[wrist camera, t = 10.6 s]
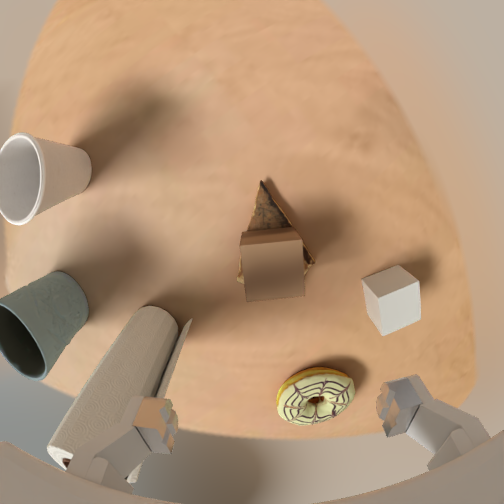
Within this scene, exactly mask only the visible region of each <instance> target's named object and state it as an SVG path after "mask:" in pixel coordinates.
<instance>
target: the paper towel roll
mask: <svg viewBox="0 0 504 504" xmlns="http://www.w3.org/2000/svg"><path fill="white" fill-rule="evenodd" d="M192 319H193V318H192ZM192 319H190V320H189V321H188V322H187V323H186V324H185V326H184V328H183V330H182V333H181V335H180V336H179V337H178V326H177V324H176V321H175V319H174V318H173V317H172V316H171V315H170V314H169V313H168V312H167V311H165V310H163V309H161V308H159V307H154V306H146V307H142V308H140V309H139V310H138V311H137V312H135V313H134V315H133V316H132V318H131V319H130V320H129V322H128V323H127V324H126V326H125V327H124V329H123V330H122V331H121V333H120V334H119V336H118V337H117V338H116V340H115V341H114V343H113V344H112V345H111V347H110V348H109V350H108V351H107V353H106V354H105V355H104V357H103V358H102V360H101V361H100V363H99V364H98V366H97V367H96V369H95V370H94V372H93V373H92V375H91V376H90V378H89V379H88V381H87V382H86V384H85V385H84V387H83V388H82V390H81V391H80V393H79V394H78V396H77V397H76V399H75V401H74V402H73V404H72V405H71V407H70V409H69V410H68V412H67V413H66V415H65V417H64V418H63V420H62V422H61V423H60V425H59V427H58V428H57V430H56V432H55V433H54V435H53V437H52V438H51V440H50V442H49V444H48V445H47V450H48V453H49V454H50V455H51V457H52V458H53V459H54V460H55V461H56V462H57V463H58V464H59V465H60V466H62V467H63V468H64V469H67V467H68V465H69V463H70V461H71V459H72V457H73V455H74V453H75V451H76V449H77V448H79V447H80V446H82V445H84V444H85V443H87V442H88V441H90V440H91V439H93V438H95V437H96V436H98V435H99V434H101V433H102V432H104V431H106V430H107V429H109V428H110V427H112V426H113V425H115V424H116V423H118V424H120V422H121V420H122V417H123V415H124V413H125V411H126V408H127V406H128V404H129V402H130V400H131V398H132V397H133V396H134V395H138V396H147V397H154V398H163V399H164V397H165V394H166V391H167V388H168V385H169V382H170V379H171V377H172V374H173V371H174V368H175V365H176V363H177V360H178V357H179V354H180V352H181V349H182V346H183V343H184V341H185V338H186V335H187V333H188V330H189V327H190V325H191V322H192ZM142 463H143V462H142ZM142 463H141V464H139V465H138V466H137V467H136V468H135V469H134V470H133V471H132V472H131V473H130V474H129V475H128V476H126V477H125V478H124V479H125V480H126V481H127V482H128V483H131V482H137V479H138V475H139V473H140V469H141V466H142Z"/></svg>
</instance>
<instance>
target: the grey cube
mask: <svg viewBox="0 0 504 504" xmlns="http://www.w3.org/2000/svg"><path fill="white" fill-rule="evenodd" d="M361 280H362V285H363V291H364V296H365V302H366V308H367V314H368V316H369V317H370V319H371V320H372V321H373V323H374V324H375V326H376V327H377V329H378V330H379V332H380V333H381V335H382V336H385V335H387V334H389V333H392V332H394V331H396V330H399V329H401V328H403V327H405V326H408V325H410V324H412V323H414V322H416V321H418V320H420V319H421V305H420V286H419V280H417V279H416V278H415V277H414V276H412V275H411V274H410V273H409V272H407V271H406V270H405V269H403V268H402V267H401V266H400V265H396V266H394V267H391V268H389V269H386V270H384V271H381V272H379V273H376V274H373V275H371V276H368V277H365V278H363V279H361Z"/></svg>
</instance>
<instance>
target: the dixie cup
mask: <svg viewBox="0 0 504 504" xmlns="http://www.w3.org/2000/svg"><path fill="white" fill-rule="evenodd" d="M91 174H92V165H91V160H90V158H89V156H88V154H87V153H86V152H85V151H84V150H83V149H80V148H77V147H73V146H69V145H65V144H61V143H57V142H53V141H49V140H45V139H40V138H36V137H33V136H32V135H30V134H28V133H24V132H21V133H17V134H15V135H13V136H11V137H10V138H9V139H8V140H7V141H6V142H5V144H4V145H3V147H2V148H1V150H0V212H1V213H2V215H3V216H4V218H5V219H6V220H7V221H9V222H10V223H12V224H15V225H23V224H26V223H28V222H29V221H30V220H32V219H33V217H34V216H36V215H38V214H40V213H41V212H43V211H45V210H47V209H49V208H51V207H53V206H55V205H57V204H59V203H61V202H63V201H65V200H67V199H69V198H71V197H74V196H76V195H78V194H80V193H81V192H83V191H84V190H85V189H86V187H87V186H88V184H89V182H90V179H91Z"/></svg>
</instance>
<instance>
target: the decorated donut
mask: <svg viewBox="0 0 504 504" xmlns="http://www.w3.org/2000/svg"><path fill="white" fill-rule="evenodd" d="M354 395H355V389H354V384H353V380H352V379H351V378H349V377H348V376H347V374H345V373H342V372H340V371H337V370H335V369H331V368H325V367H314V368H310V369H306V370H303V371H301V372H298V373H297V374H295V375H293V376H291V377H290V378H289V379H287V380H286V381H285V382H284V383H283V385H282V386H281V387H280V389H279V391H278V395H277V400H276V403H277V410H278V413H279V415H280V417H281V418H283V419H284V420H285V421H287V422H290V423H293V424H297V425H313V424H317V423H320V422H324V421H327V420H329V419H332V418H334V417H335V416H337V415H338V414H340V413H341V412H342V411H344V410H345V409H346V408H347V407H348V406H349V404H350V403H351V402H352V400H353V398H354ZM314 396H319V397H317V398H312V397H314ZM310 398H312V399H310Z"/></svg>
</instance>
